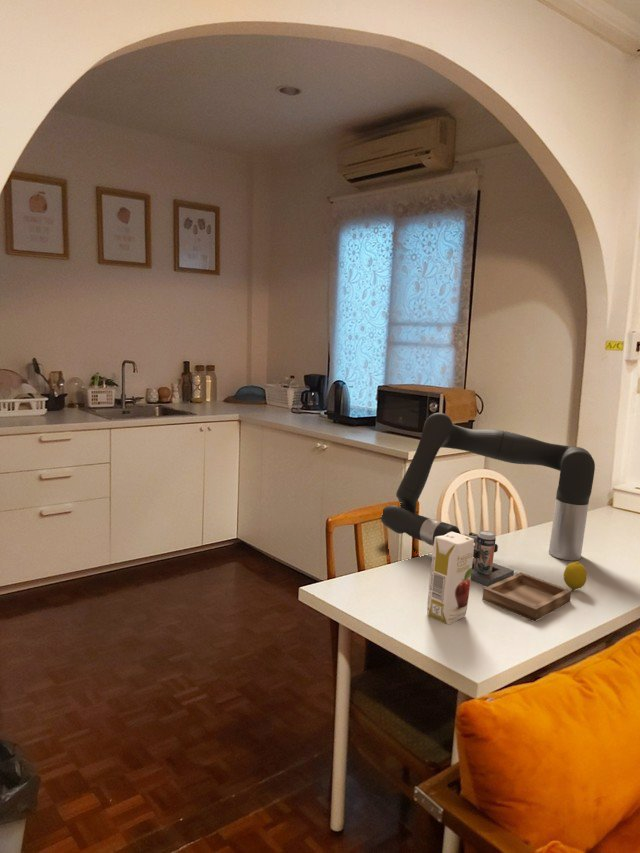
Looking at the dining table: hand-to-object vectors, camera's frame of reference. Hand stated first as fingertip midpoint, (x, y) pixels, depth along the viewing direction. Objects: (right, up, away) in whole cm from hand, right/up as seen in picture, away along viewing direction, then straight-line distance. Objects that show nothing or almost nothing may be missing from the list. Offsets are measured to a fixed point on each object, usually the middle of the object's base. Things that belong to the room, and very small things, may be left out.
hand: (488, 551), depth 169 cm
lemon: (+21, -9, -4) cm, 24 cm away
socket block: (-1, -7, +2) cm, 7 cm away
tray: (+6, -10, -13) cm, 17 cm away
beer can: (-1, -7, +2) cm, 7 cm away
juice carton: (-16, -10, -24) cm, 31 cm away
